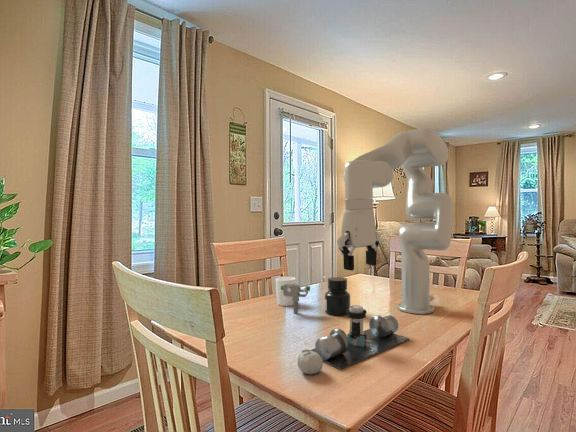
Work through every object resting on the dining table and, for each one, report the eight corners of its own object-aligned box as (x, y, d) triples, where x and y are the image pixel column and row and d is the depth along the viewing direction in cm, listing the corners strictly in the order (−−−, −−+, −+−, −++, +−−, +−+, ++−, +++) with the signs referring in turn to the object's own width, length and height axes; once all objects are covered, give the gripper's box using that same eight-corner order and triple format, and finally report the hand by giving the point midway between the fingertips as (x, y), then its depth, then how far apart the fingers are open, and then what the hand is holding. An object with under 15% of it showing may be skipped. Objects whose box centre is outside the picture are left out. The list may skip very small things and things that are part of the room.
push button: (374, 343, 93) (374, 306, 92) (367, 350, 88) (367, 311, 88) (351, 339, 96) (350, 303, 96) (343, 345, 92) (343, 308, 92)
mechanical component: (309, 315, 120) (309, 286, 120) (280, 313, 122) (280, 285, 122) (310, 312, 123) (310, 284, 123) (282, 311, 125) (282, 283, 125)
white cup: (272, 305, 133) (272, 279, 133) (280, 300, 140) (280, 275, 140) (291, 307, 130) (291, 281, 130) (298, 302, 137) (298, 277, 137)
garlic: (293, 375, 77) (292, 352, 77) (301, 365, 82) (300, 343, 82) (319, 380, 74) (319, 356, 74) (325, 369, 80) (325, 346, 79)
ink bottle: (336, 307, 129) (335, 275, 129) (355, 312, 123) (355, 278, 123) (319, 312, 123) (318, 279, 122) (339, 318, 116) (338, 282, 116)
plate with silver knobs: (374, 328, 106) (374, 307, 105) (409, 340, 96) (409, 317, 96) (306, 353, 88) (305, 328, 88) (340, 370, 79) (340, 342, 79)
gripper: (367, 205, 104) (368, 261, 104) (327, 206, 93) (329, 270, 93) (389, 204, 98) (390, 264, 98) (348, 206, 87) (350, 273, 87)
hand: (360, 267), depth 96 cm, fingers open, 9 cm apart
